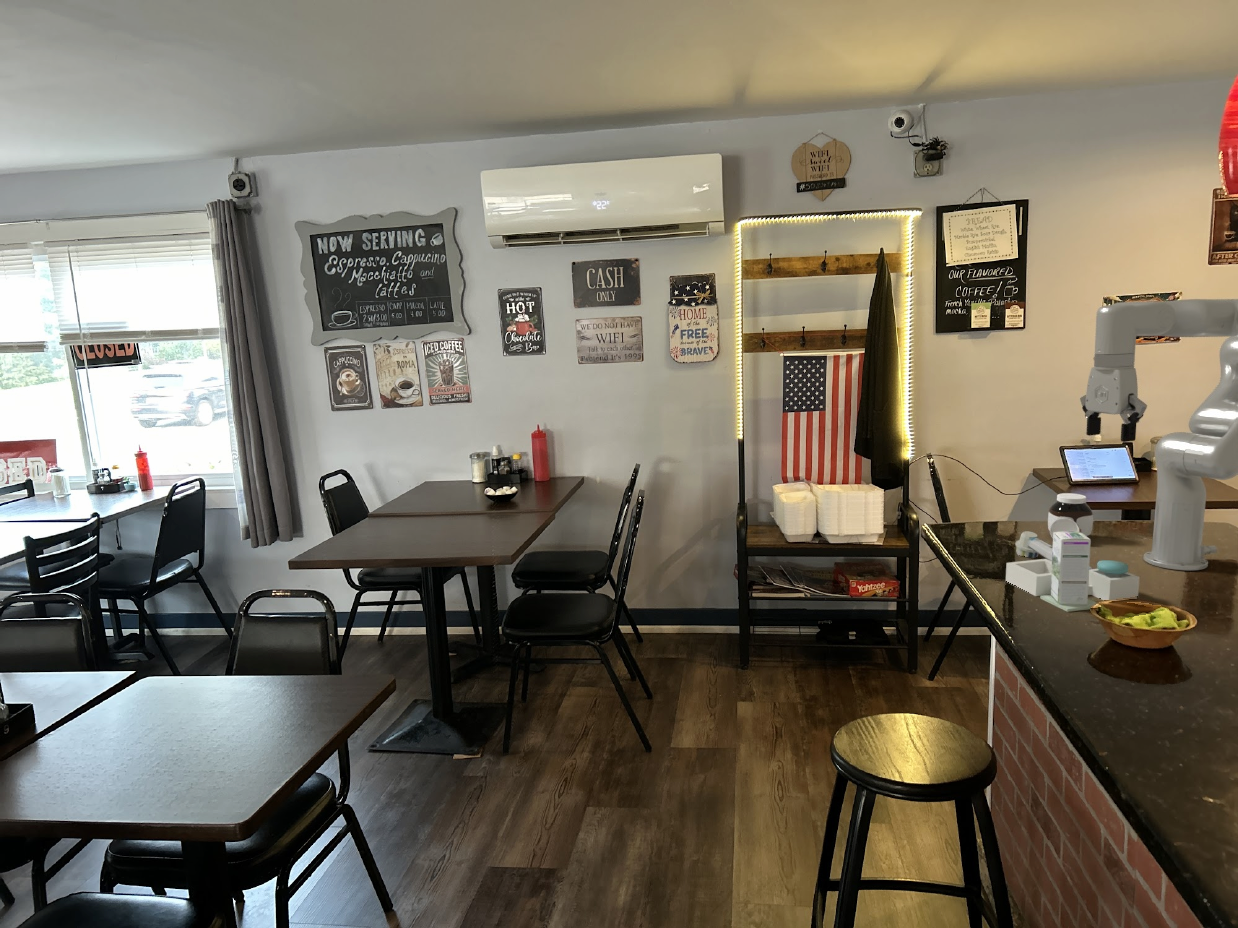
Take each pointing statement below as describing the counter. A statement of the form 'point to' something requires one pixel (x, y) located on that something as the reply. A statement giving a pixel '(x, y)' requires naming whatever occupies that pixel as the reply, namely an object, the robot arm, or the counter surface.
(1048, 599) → the mat
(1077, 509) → the spread jar
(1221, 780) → the counter surface
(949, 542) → the counter surface
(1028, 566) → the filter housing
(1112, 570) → the teal mushroom knob
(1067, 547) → the syrup box
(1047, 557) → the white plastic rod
